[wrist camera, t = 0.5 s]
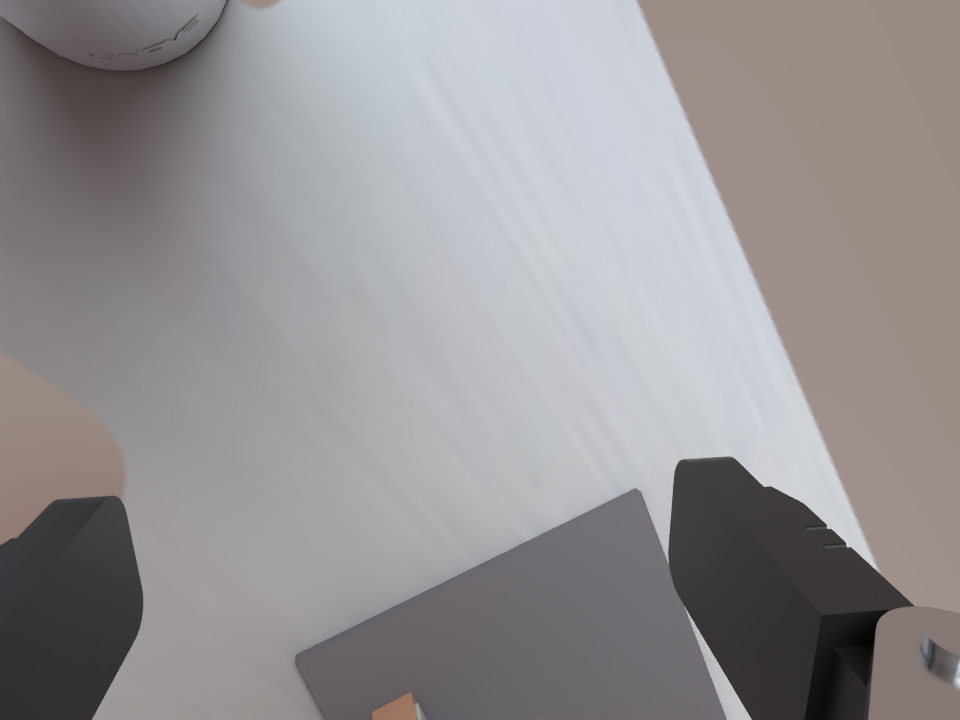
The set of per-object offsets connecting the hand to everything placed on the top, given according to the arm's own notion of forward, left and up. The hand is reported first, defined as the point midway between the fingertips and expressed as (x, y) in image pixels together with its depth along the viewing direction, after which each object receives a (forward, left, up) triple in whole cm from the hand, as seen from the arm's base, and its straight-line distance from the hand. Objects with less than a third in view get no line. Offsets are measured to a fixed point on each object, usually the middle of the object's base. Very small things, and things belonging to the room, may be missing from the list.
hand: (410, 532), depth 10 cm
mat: (+21, +1, -21) cm, 29 cm away
